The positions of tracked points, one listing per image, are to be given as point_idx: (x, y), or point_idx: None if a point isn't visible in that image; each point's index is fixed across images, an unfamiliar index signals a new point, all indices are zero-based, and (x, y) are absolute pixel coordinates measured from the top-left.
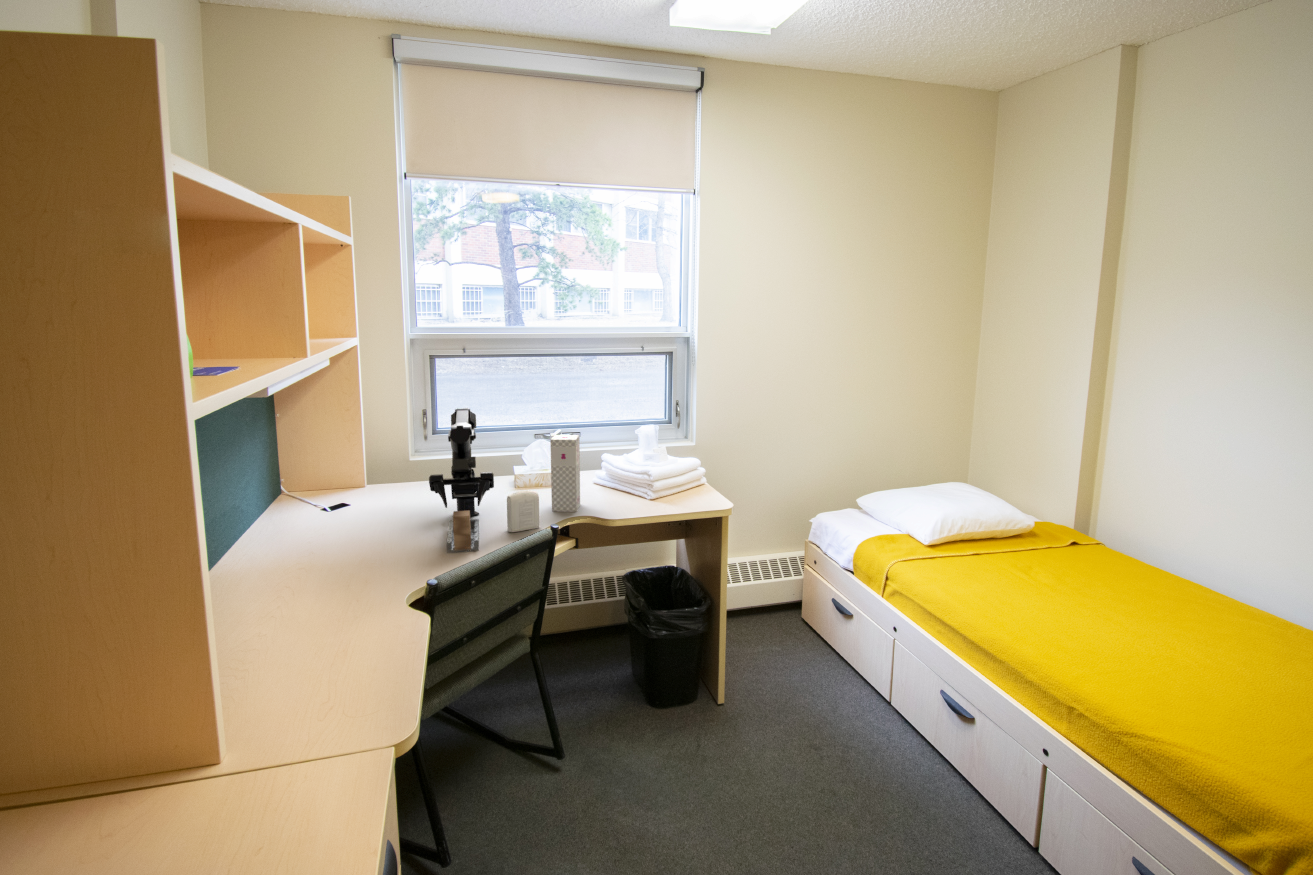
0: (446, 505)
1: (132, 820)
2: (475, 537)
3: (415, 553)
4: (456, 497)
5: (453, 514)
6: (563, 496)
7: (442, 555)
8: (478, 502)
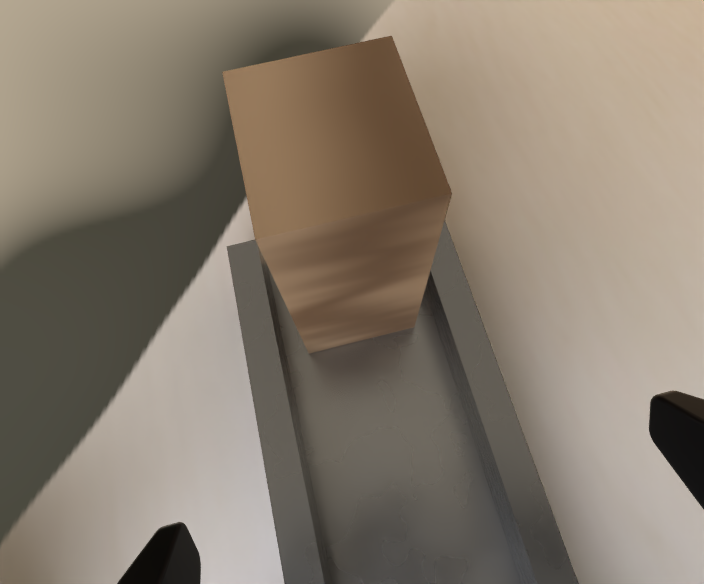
0: (662, 395)
1: None
2: (259, 308)
3: (616, 217)
4: None
5: (409, 92)
6: None
7: None
8: (159, 543)
